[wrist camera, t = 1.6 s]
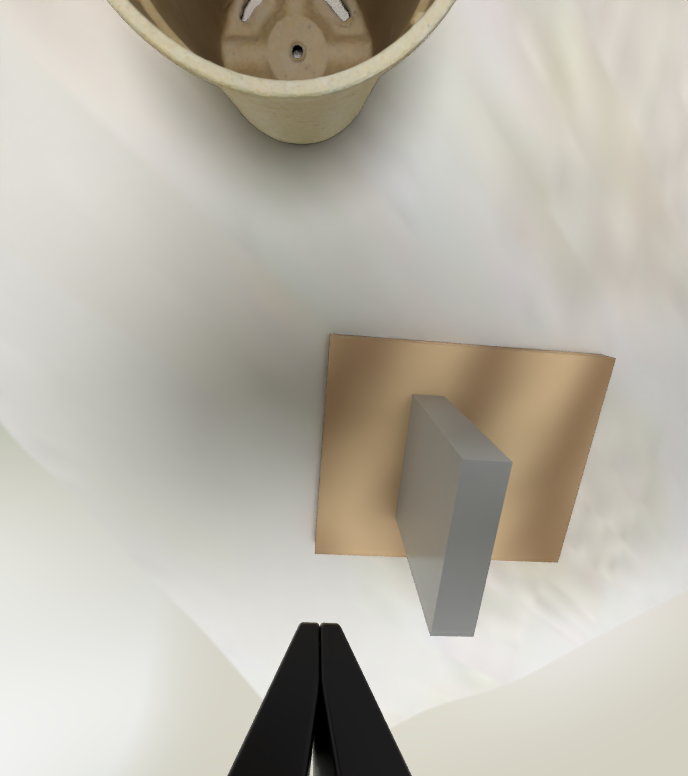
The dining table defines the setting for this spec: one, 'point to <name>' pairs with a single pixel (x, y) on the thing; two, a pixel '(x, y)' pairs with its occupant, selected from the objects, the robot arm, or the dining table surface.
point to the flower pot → (287, 53)
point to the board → (478, 404)
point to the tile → (449, 512)
